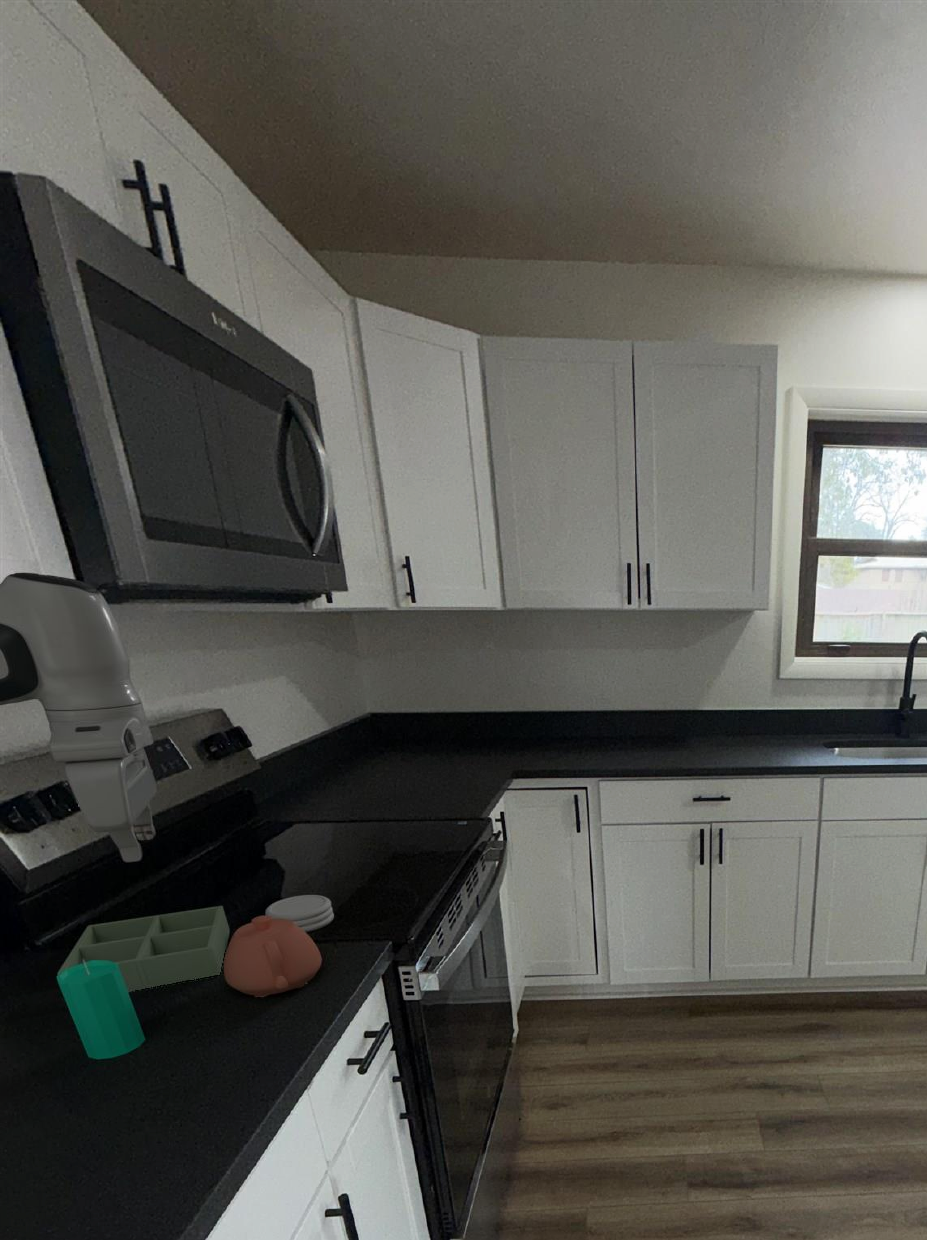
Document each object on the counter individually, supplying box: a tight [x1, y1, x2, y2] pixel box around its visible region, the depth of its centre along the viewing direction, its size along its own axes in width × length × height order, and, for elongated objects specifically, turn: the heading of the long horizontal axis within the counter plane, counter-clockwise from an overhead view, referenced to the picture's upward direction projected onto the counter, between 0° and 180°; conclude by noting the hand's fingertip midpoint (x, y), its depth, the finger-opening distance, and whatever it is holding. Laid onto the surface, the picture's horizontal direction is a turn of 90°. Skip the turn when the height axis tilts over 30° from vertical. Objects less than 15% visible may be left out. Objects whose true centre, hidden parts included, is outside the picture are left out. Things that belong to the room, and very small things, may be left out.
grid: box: [56, 905, 231, 993], centre depth 113 cm, size 18×18×5 cm
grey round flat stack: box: [265, 894, 335, 933], centre depth 127 cm, size 10×10×4 cm
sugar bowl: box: [223, 914, 323, 998], centre depth 105 cm, size 12×14×10 cm
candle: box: [56, 959, 146, 1060], centre depth 90 cm, size 6×6×12 cm
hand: (141, 848), depth 90 cm, fingers open, 8 cm apart
